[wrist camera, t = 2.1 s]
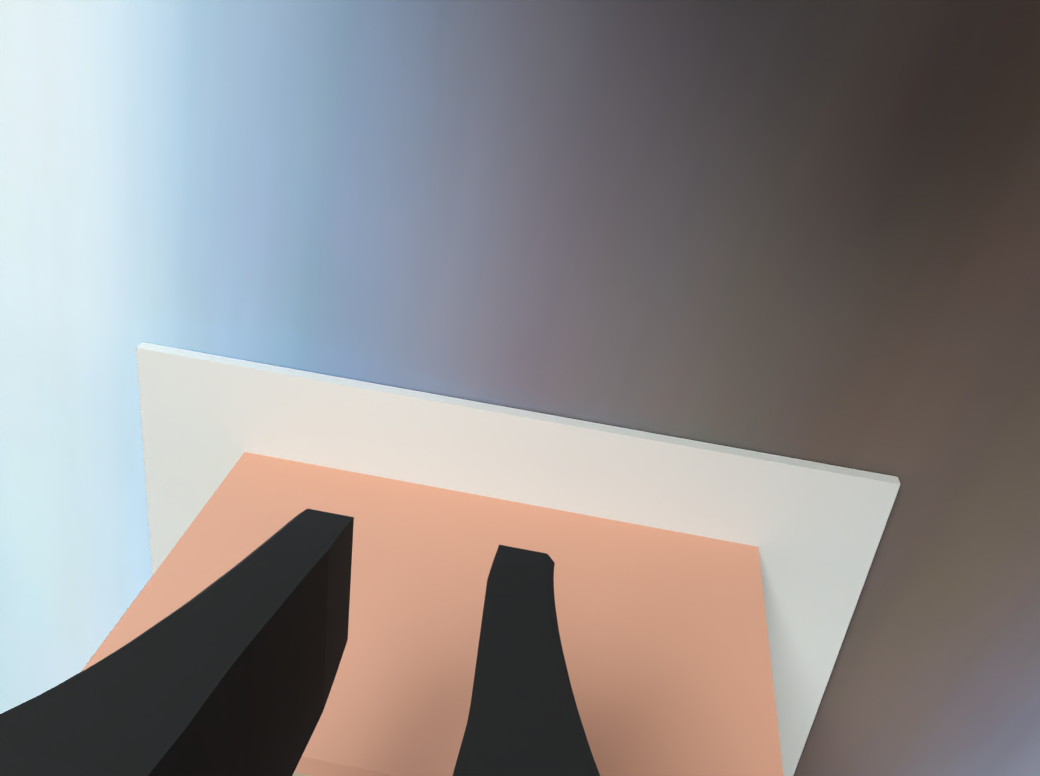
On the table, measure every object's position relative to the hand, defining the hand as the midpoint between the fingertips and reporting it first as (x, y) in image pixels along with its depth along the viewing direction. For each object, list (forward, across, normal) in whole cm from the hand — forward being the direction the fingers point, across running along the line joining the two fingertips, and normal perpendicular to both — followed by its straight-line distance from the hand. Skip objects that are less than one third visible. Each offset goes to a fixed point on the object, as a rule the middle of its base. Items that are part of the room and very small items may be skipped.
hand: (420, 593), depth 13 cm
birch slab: (+9, 0, +6) cm, 11 cm away
